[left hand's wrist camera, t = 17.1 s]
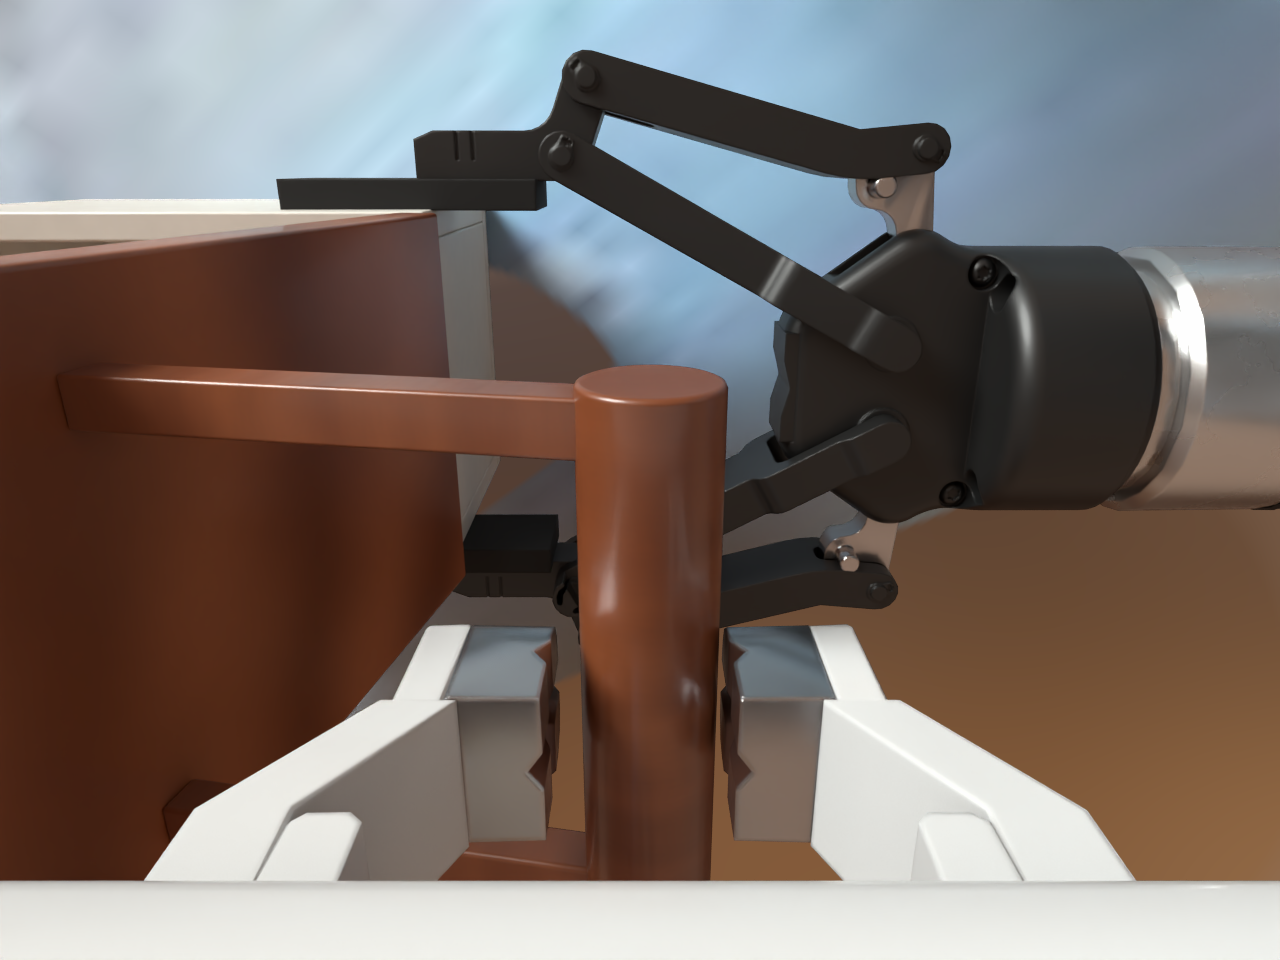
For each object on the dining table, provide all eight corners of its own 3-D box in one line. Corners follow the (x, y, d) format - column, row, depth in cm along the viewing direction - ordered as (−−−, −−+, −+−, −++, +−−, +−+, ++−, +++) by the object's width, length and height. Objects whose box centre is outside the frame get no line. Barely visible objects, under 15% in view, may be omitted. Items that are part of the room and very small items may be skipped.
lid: (-73, 1118, 10) (668, 1285, 8) (-424, 299, 7) (685, 338, 5) (431, 573, 23) (752, 600, 22) (397, 212, 20) (772, 215, 19)
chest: (143, 462, 32) (-32, 566, 24) (86, 199, 29) (-140, 211, 21) (500, 461, 32) (453, 565, 24) (485, 198, 29) (423, 211, 21)
